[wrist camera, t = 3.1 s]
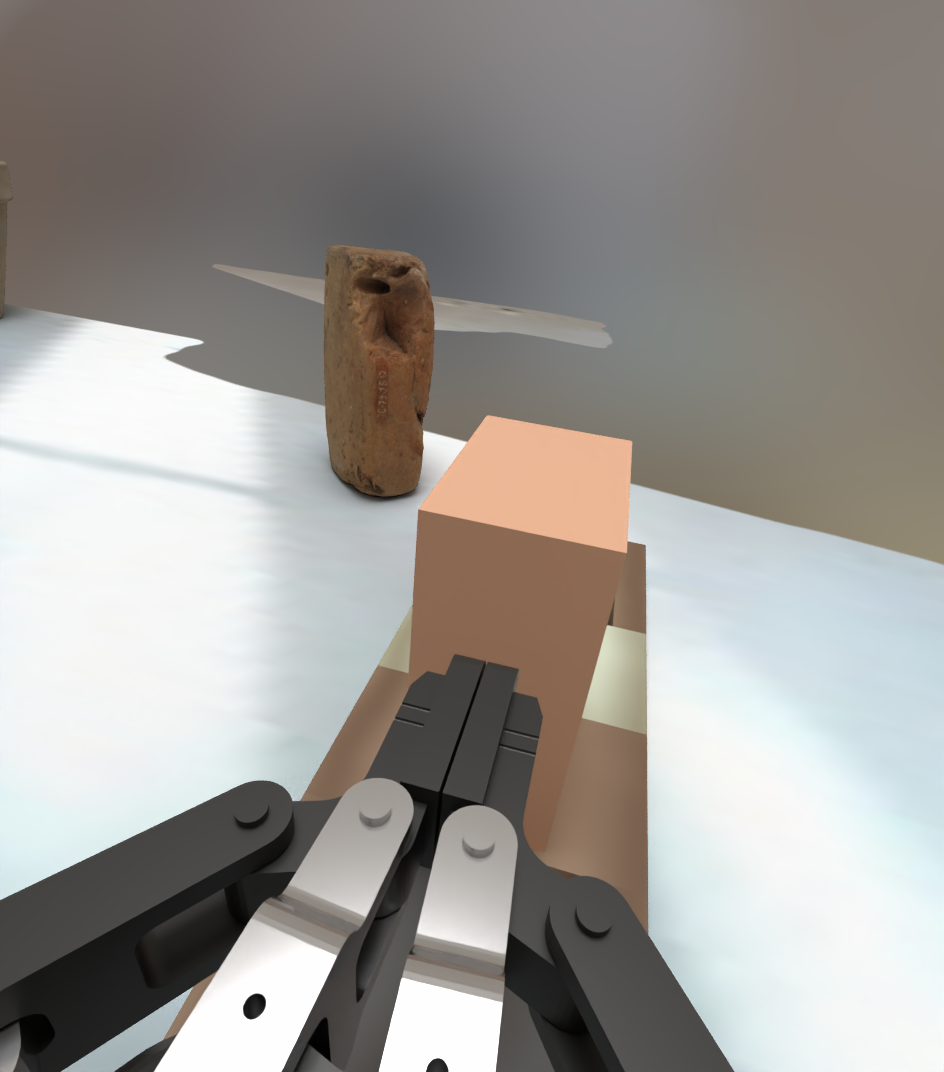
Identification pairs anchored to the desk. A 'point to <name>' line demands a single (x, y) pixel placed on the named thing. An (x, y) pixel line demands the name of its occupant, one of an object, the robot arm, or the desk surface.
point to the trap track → (579, 824)
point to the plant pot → (3, 226)
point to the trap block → (525, 575)
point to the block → (377, 366)
